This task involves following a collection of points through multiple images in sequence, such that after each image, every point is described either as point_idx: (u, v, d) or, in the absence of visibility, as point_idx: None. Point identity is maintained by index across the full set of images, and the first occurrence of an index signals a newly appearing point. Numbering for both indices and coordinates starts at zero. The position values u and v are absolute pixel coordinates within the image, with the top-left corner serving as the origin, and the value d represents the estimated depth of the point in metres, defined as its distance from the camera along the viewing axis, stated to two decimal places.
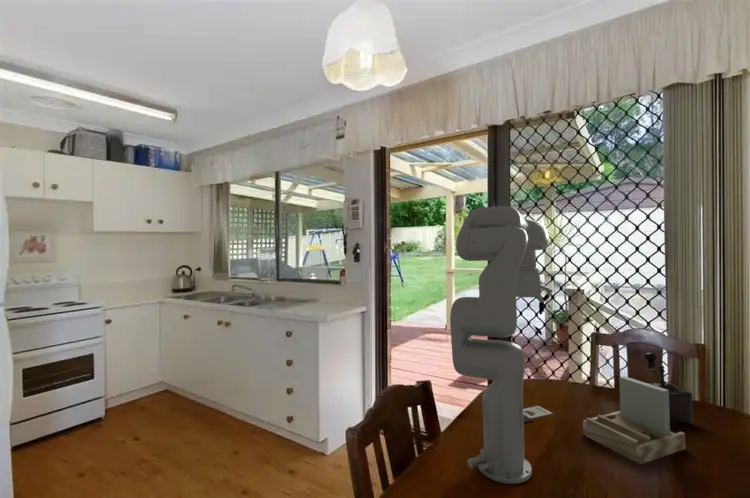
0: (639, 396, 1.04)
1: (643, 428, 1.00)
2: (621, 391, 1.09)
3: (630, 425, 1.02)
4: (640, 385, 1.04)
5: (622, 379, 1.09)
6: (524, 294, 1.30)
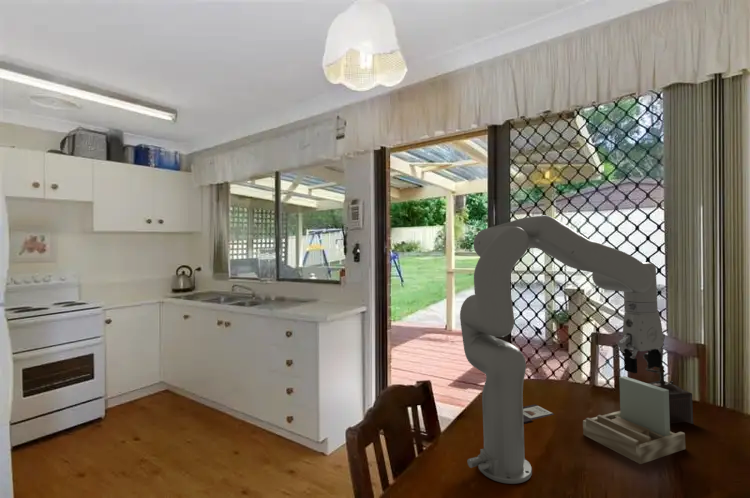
0: (639, 396, 1.04)
1: (643, 428, 1.00)
2: (621, 391, 1.09)
3: (630, 425, 1.02)
4: (640, 385, 1.04)
5: (622, 379, 1.09)
6: (652, 346, 1.02)
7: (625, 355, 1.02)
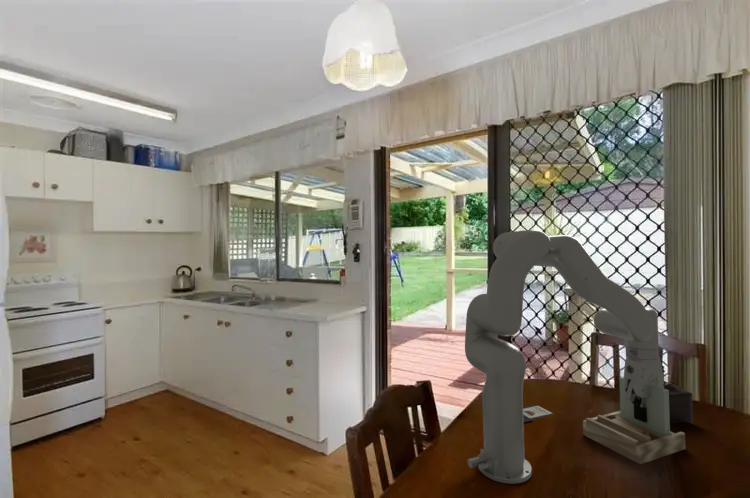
0: None
1: (643, 428, 1.00)
2: (621, 391, 1.09)
3: (630, 425, 1.02)
4: None
5: (622, 379, 1.09)
6: None
7: (635, 404, 1.03)
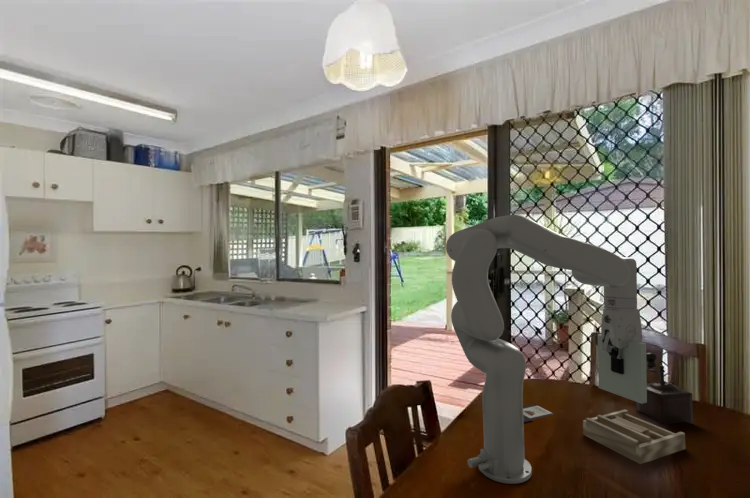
0: None
1: (643, 428, 1.00)
2: (599, 349, 1.06)
3: (630, 425, 1.02)
4: None
5: (600, 336, 1.06)
6: None
7: (612, 355, 1.00)
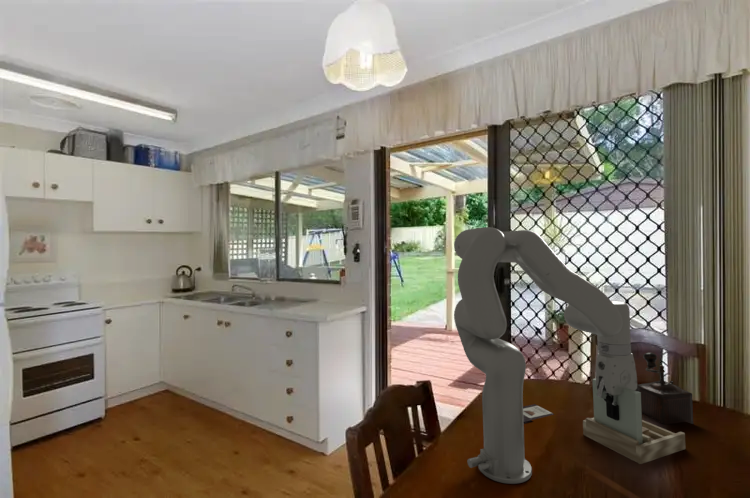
0: None
1: (643, 428, 1.00)
2: (594, 393, 1.05)
3: None
4: None
5: (595, 381, 1.05)
6: None
7: (607, 401, 1.00)
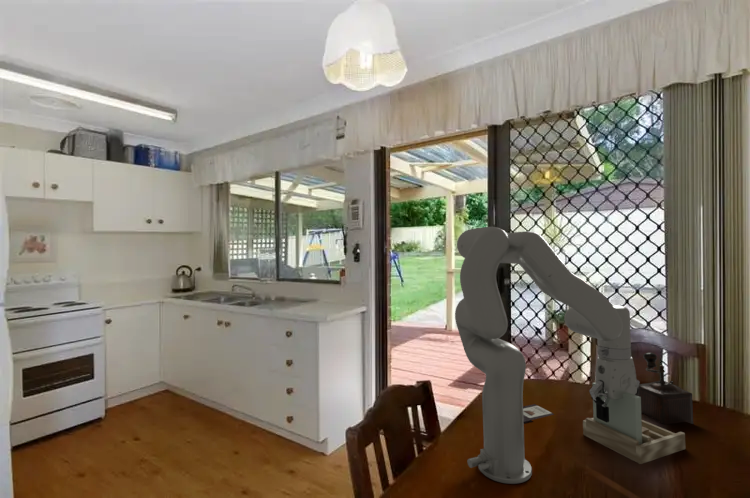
0: (611, 403, 1.00)
1: (643, 428, 1.00)
2: None
3: None
4: None
5: None
6: None
7: (597, 403, 0.98)
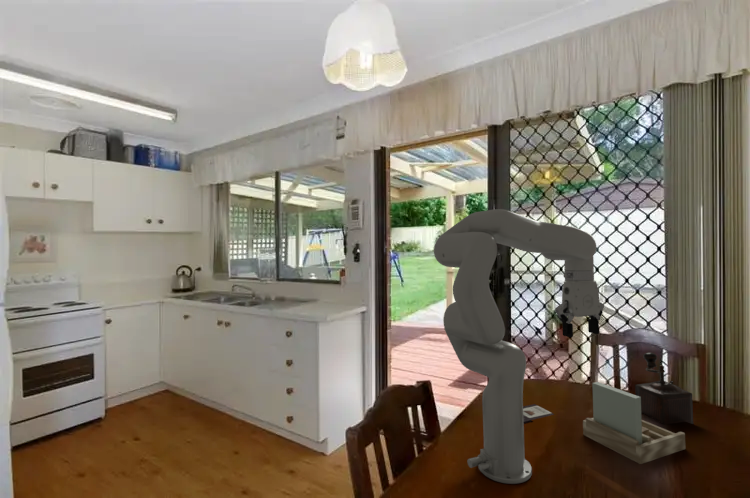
0: (611, 403, 1.00)
1: (643, 428, 1.00)
2: (594, 397, 1.05)
3: None
4: (612, 391, 1.00)
5: (595, 385, 1.05)
6: (588, 312, 1.08)
7: (562, 320, 1.09)
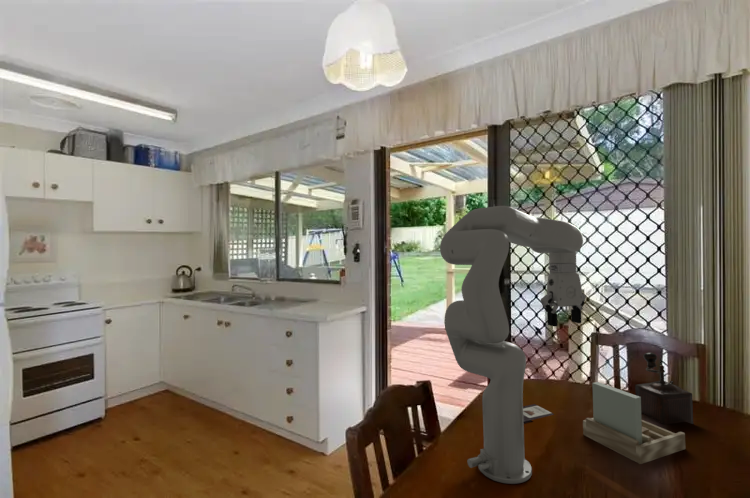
0: (611, 403, 1.00)
1: (643, 428, 1.00)
2: (594, 397, 1.05)
3: None
4: (612, 391, 1.00)
5: (595, 385, 1.05)
6: (571, 303, 1.14)
7: (547, 310, 1.15)
